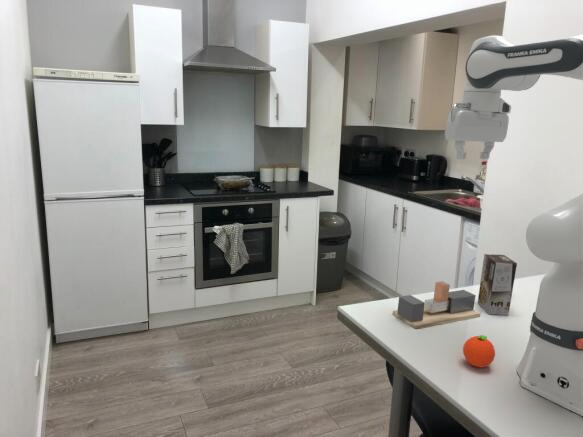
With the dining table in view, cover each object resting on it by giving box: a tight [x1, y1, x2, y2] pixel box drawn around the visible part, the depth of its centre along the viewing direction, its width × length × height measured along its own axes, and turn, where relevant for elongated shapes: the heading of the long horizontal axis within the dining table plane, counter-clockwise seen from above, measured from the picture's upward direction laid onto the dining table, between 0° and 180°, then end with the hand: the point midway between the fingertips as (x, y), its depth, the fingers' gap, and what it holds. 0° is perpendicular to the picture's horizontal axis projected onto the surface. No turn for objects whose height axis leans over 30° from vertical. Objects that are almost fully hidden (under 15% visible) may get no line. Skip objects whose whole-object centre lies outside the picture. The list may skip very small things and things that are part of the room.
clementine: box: [462, 334, 496, 368], centre depth 110 cm, size 8×7×7 cm
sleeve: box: [445, 289, 476, 314], centre depth 140 cm, size 5×9×5 cm, turn 116°
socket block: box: [397, 294, 425, 322], centre depth 132 cm, size 6×4×5 cm, turn 26°
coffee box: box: [477, 253, 518, 316], centre depth 143 cm, size 9×6×16 cm
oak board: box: [392, 309, 482, 330], centre depth 137 cm, size 10×24×1 cm, turn 116°
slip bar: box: [424, 280, 451, 313], centre depth 138 cm, size 3×15×8 cm, turn 116°
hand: (472, 159), depth 123 cm, fingers open, 8 cm apart
